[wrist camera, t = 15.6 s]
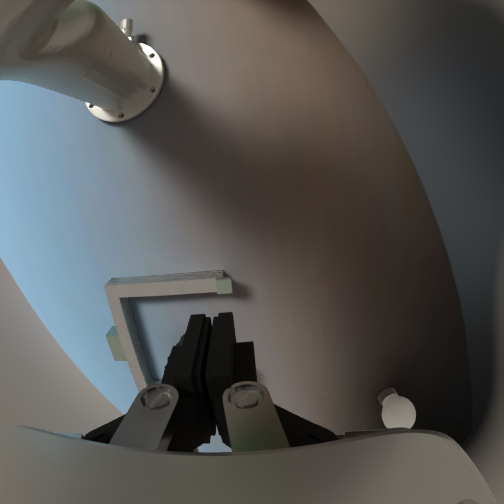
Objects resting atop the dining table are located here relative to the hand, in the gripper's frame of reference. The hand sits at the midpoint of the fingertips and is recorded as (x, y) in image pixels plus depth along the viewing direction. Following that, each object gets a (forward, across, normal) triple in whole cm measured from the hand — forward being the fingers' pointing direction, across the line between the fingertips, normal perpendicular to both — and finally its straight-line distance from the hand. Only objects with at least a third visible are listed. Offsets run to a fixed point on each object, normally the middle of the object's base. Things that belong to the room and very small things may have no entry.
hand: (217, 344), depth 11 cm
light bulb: (+29, -28, +38) cm, 56 cm away
